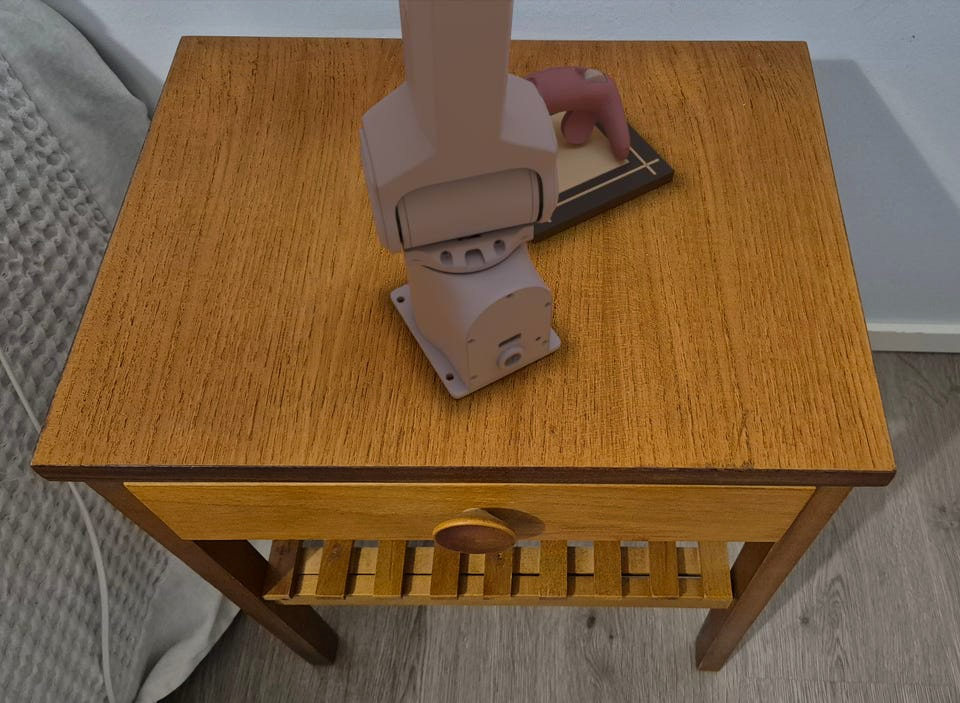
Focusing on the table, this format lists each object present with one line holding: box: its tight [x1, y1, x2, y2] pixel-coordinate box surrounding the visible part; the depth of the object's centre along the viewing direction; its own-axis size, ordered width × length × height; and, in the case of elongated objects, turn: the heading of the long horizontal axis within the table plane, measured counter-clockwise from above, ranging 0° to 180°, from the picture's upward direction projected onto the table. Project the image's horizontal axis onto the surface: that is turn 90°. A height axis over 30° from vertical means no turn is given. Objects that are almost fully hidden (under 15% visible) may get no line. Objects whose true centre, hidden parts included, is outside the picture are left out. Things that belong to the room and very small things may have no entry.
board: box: [531, 111, 675, 244], centre depth 61 cm, size 12×12×1 cm
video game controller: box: [522, 65, 630, 160], centre depth 59 cm, size 10×5×7 cm, turn 105°
